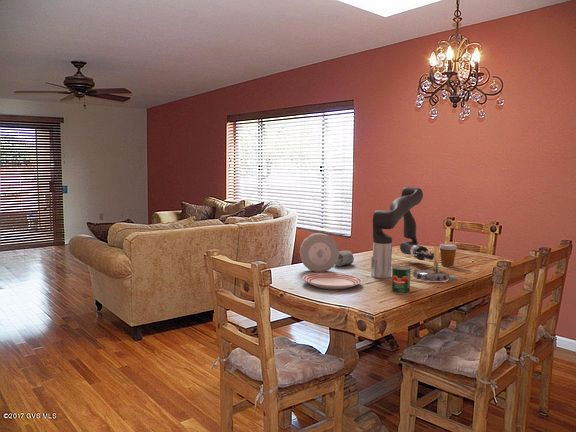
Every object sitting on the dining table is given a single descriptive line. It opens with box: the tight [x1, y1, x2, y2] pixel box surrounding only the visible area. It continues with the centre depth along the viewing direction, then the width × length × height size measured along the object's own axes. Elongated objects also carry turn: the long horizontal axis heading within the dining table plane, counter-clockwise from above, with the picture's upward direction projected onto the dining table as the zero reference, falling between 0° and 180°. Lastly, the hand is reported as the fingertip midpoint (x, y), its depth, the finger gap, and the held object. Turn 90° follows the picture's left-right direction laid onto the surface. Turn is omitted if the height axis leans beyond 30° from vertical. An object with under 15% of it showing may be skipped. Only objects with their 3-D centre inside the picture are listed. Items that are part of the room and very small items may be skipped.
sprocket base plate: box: [412, 276, 450, 283], centre depth 229 cm, size 17×17×1 cm
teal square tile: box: [448, 275, 457, 280], centre depth 230 cm, size 3×3×1 cm
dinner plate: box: [302, 272, 363, 290], centre depth 215 cm, size 27×27×3 cm
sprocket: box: [412, 246, 450, 281], centre depth 228 cm, size 17×17×14 cm
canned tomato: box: [391, 265, 412, 295], centre depth 203 cm, size 8×8×11 cm
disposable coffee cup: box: [438, 243, 458, 267], centre depth 261 cm, size 10×10×12 cm
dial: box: [299, 232, 340, 273], centre depth 242 cm, size 20×12×20 cm, turn 92°
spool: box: [334, 250, 355, 268], centre depth 259 cm, size 14×10×10 cm
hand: (431, 257), depth 239 cm, fingers closed
